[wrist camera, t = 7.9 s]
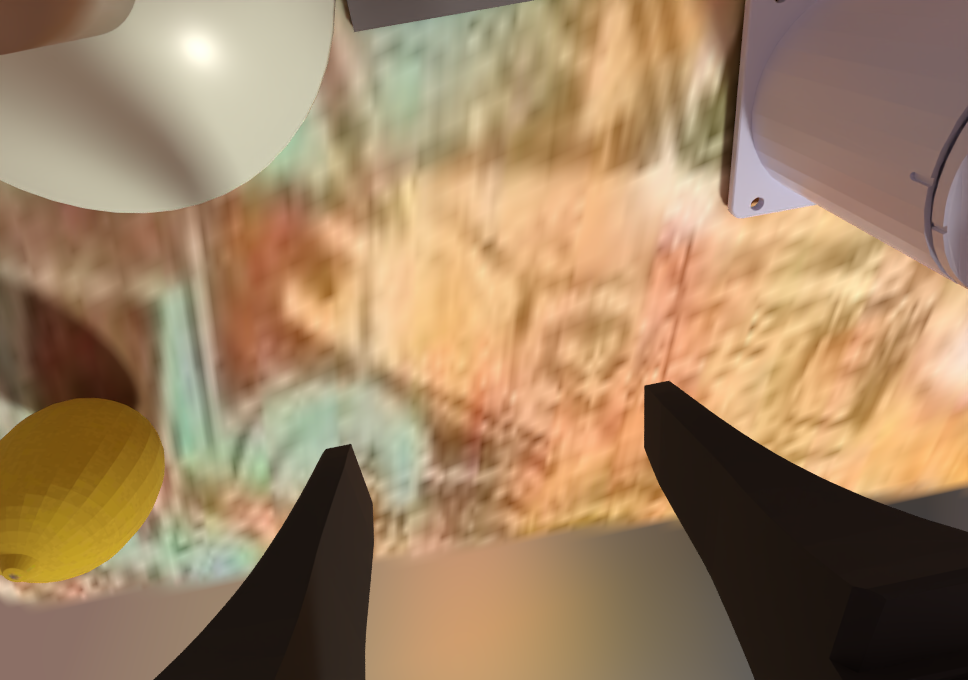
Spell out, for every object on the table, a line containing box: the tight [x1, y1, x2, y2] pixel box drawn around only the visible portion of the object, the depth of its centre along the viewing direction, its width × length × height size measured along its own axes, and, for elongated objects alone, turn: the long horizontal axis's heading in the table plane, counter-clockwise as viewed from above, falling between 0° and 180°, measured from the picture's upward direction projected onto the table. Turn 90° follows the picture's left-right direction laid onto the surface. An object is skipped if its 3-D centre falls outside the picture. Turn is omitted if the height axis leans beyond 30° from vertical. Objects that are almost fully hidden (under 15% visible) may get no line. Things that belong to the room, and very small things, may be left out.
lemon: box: [0, 398, 165, 583], centre depth 21 cm, size 6×6×8 cm
